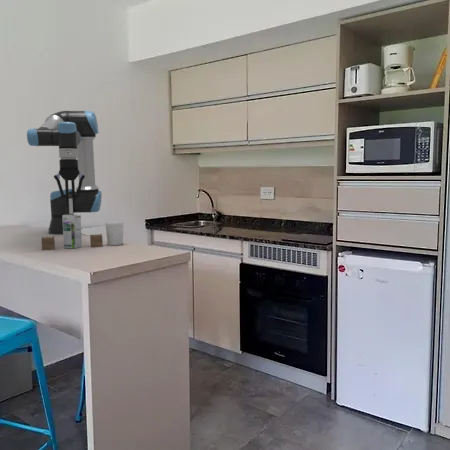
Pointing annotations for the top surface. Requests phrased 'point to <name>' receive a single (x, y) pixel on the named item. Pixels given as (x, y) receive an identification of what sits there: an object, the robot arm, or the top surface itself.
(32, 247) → the top surface
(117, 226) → the white cup
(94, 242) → the walnut block one
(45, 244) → the walnut block seven
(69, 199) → the robot arm
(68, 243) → the syrup box
